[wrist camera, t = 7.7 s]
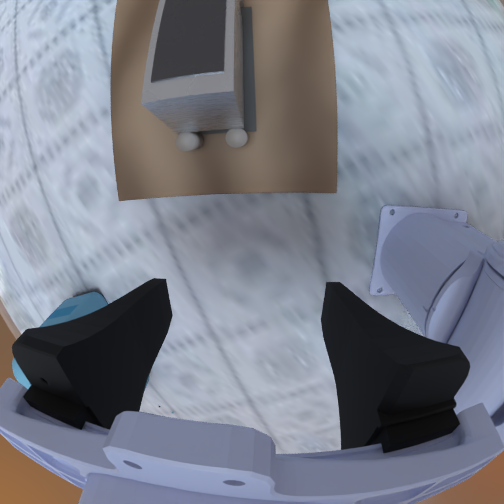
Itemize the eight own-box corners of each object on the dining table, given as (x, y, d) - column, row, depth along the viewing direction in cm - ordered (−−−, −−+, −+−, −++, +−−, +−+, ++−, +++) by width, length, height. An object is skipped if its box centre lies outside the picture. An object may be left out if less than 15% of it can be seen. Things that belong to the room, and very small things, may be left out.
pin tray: (320, -22, 12) (329, -43, 9) (333, 190, 19) (346, 201, 16) (122, 0, 13) (103, -14, 10) (124, 198, 20) (102, 209, 17)
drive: (242, 26, 13) (235, -24, 8) (243, 128, 14) (233, 90, 9) (184, 33, 14) (162, -12, 9) (176, 133, 15) (139, 102, 10)
